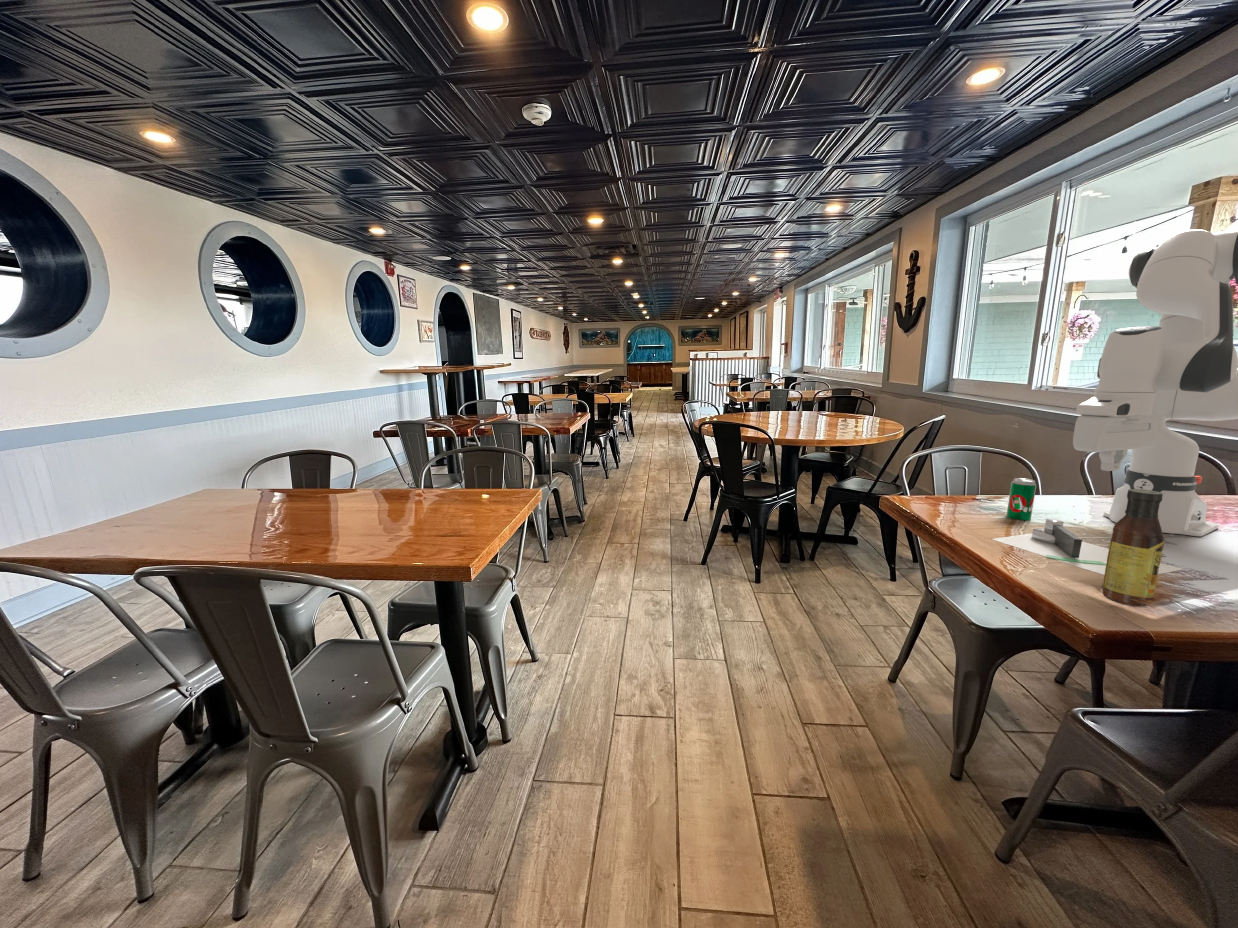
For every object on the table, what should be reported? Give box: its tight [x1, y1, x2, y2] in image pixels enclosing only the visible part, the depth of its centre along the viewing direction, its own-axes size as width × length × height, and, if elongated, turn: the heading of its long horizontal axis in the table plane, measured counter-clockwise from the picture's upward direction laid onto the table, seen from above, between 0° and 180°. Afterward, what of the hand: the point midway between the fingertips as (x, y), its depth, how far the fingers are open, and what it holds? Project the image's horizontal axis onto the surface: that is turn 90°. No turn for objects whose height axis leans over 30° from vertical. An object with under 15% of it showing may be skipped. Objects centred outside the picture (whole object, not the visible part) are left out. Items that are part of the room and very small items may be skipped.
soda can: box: [1005, 477, 1037, 522], centre depth 126 cm, size 5×5×12 cm
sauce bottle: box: [1102, 489, 1165, 607], centre depth 82 cm, size 6×6×20 cm
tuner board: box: [991, 532, 1184, 576], centre depth 102 cm, size 19×24×2 cm
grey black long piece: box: [1031, 518, 1083, 558], centre depth 105 cm, size 16×7×4 cm, turn 156°
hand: (1109, 470), depth 101 cm, fingers closed
